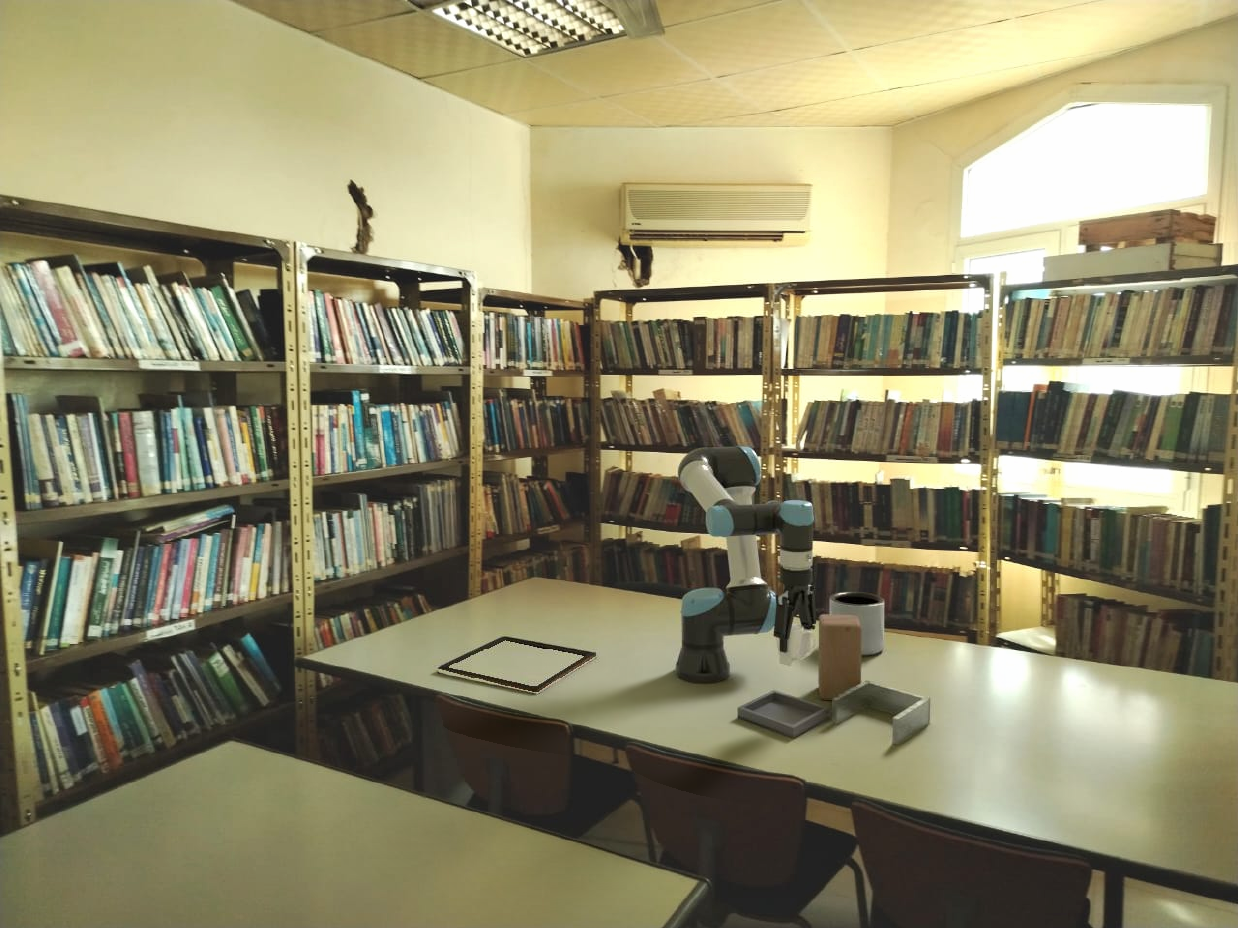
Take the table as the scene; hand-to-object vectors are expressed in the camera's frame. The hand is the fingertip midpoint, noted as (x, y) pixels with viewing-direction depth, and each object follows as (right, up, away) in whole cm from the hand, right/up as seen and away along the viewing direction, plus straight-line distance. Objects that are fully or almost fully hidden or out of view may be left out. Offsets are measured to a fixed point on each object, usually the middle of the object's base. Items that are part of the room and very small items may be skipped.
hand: (795, 659), depth 186 cm
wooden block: (+15, -13, +15) cm, 25 cm away
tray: (-2, -15, +2) cm, 15 cm away
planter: (+30, -9, +50) cm, 59 cm away
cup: (0, 0, 0) cm, 0 cm away
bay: (+20, -14, -2) cm, 25 cm away
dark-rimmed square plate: (-71, -13, +41) cm, 83 cm away
